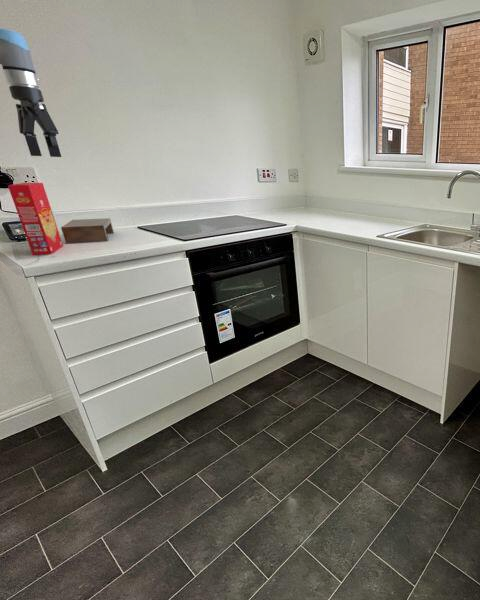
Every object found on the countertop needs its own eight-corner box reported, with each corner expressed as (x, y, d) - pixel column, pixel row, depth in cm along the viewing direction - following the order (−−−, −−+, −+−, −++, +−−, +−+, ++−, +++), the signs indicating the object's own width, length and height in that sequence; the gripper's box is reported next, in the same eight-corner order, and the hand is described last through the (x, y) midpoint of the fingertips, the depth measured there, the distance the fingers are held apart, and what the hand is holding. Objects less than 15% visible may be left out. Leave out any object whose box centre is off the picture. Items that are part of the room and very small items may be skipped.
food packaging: (51, 254, 133) (28, 185, 124) (32, 255, 131) (7, 185, 122) (63, 246, 145) (42, 182, 136) (46, 247, 143) (24, 182, 134)
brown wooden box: (66, 243, 149) (60, 227, 146) (77, 234, 166) (72, 219, 164) (107, 241, 156) (103, 225, 153) (114, 232, 173) (110, 218, 171)
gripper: (58, 87, 114) (78, 157, 121) (21, 91, 123) (42, 156, 131) (28, 82, 107) (50, 156, 115) (-9, 86, 117) (14, 155, 125)
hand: (46, 156), depth 123 cm, fingers open, 13 cm apart
